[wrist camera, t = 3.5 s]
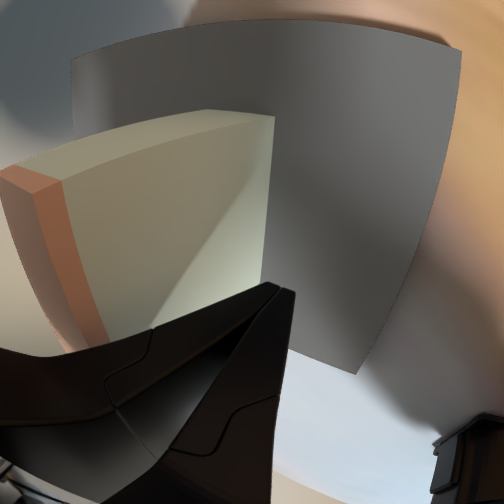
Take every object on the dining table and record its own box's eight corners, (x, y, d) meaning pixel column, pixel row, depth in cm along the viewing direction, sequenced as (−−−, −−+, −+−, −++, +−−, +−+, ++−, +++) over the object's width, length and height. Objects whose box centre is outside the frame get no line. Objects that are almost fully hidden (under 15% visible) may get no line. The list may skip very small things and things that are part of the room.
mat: (458, 54, 6) (461, 51, 6) (359, 364, 15) (355, 374, 15) (80, 58, 14) (70, 59, 14) (102, 246, 23) (95, 251, 23)
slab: (275, 116, 10) (32, 194, 4) (260, 282, 15) (134, 421, 8) (206, 109, 11) (-6, 173, 5) (207, 261, 16) (79, 372, 9)
